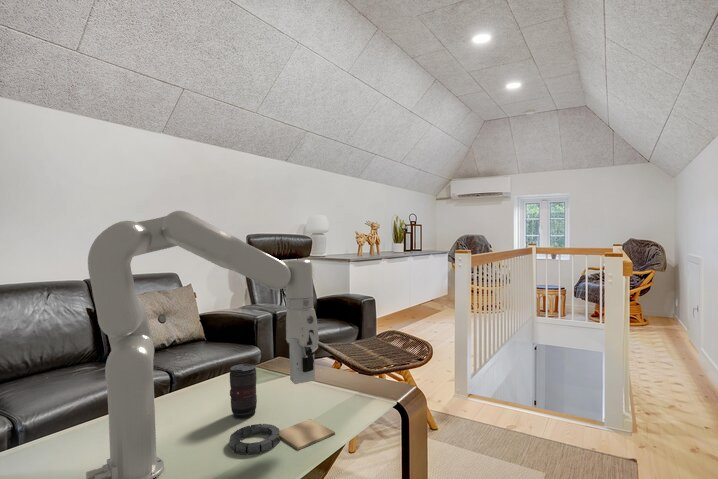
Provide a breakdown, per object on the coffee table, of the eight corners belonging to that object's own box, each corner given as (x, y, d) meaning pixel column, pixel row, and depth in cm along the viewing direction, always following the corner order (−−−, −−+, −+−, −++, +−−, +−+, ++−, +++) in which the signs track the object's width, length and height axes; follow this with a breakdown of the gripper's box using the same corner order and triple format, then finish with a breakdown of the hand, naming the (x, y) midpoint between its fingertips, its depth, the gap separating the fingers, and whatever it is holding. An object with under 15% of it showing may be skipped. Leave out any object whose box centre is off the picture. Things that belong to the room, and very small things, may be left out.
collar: (243, 460, 101) (243, 452, 101) (222, 442, 111) (221, 434, 111) (288, 441, 110) (288, 434, 110) (265, 426, 119) (265, 419, 119)
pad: (298, 449, 105) (298, 447, 105) (274, 434, 114) (274, 432, 114) (335, 434, 113) (335, 431, 113) (310, 420, 122) (310, 418, 122)
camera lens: (250, 420, 124) (248, 371, 124) (226, 419, 125) (224, 370, 125) (262, 409, 132) (260, 363, 132) (239, 408, 133) (237, 362, 133)
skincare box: (295, 385, 110) (293, 340, 110) (289, 380, 114) (288, 337, 114) (316, 380, 113) (314, 337, 113) (310, 376, 117) (308, 333, 117)
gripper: (329, 304, 110) (331, 372, 110) (294, 299, 123) (297, 360, 123) (305, 308, 105) (308, 379, 105) (272, 302, 118) (275, 365, 118)
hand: (302, 368), depth 114 cm, fingers closed on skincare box, 5 cm apart
